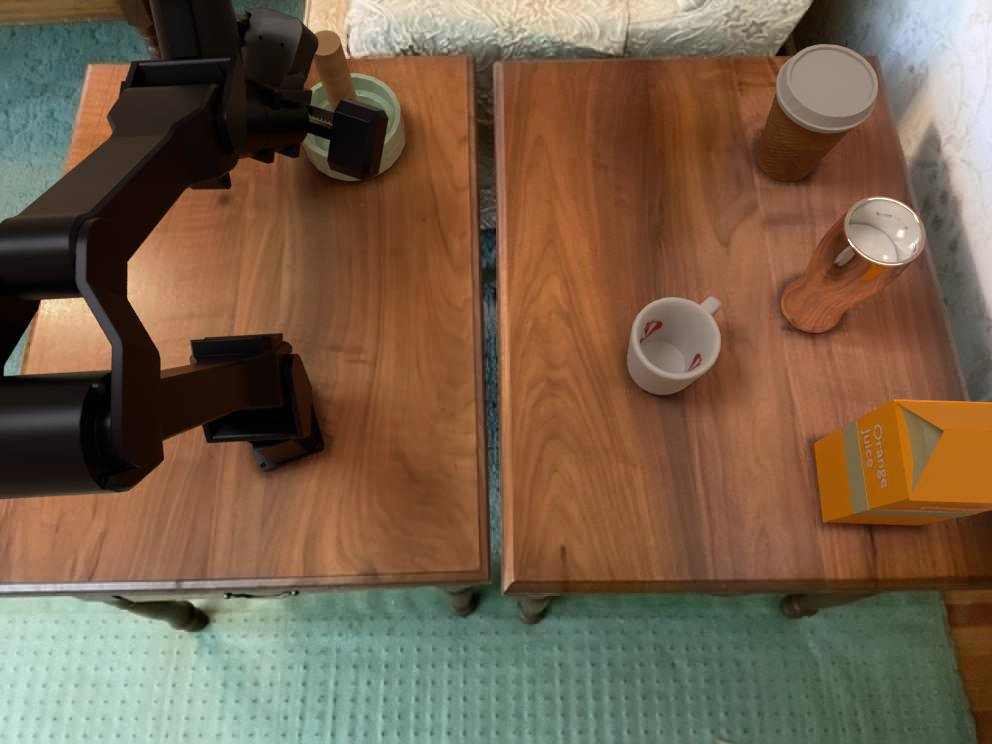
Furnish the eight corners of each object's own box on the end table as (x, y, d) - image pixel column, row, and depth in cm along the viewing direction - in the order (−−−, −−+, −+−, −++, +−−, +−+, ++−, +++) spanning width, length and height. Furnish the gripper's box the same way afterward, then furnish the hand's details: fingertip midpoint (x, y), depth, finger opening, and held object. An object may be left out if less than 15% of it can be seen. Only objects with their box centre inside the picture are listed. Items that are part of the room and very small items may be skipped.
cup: (672, 297, 72) (692, 260, 64) (733, 348, 70) (760, 316, 62) (601, 366, 70) (613, 336, 62) (662, 421, 68) (681, 397, 60)
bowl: (418, 166, 78) (413, 140, 73) (322, 196, 77) (311, 172, 72) (389, 90, 81) (382, 61, 77) (296, 118, 80) (284, 90, 76)
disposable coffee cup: (730, 178, 76) (769, 102, 65) (754, 111, 79) (795, 28, 68) (816, 206, 75) (870, 134, 64) (837, 138, 78) (893, 57, 67)
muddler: (379, 148, 78) (353, 53, 65) (342, 160, 77) (307, 66, 64) (368, 118, 79) (340, 18, 66) (331, 129, 79) (295, 31, 65)
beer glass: (762, 308, 71) (825, 232, 57) (801, 263, 73) (872, 179, 59) (819, 351, 70) (898, 284, 56) (858, 304, 71) (945, 227, 57)
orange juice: (813, 441, 67) (933, 374, 48) (906, 444, 66) (1064, 378, 48) (822, 524, 64) (954, 488, 45) (919, 527, 64) (1092, 492, 45)
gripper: (356, 49, 52) (431, 53, 66) (142, -19, 55) (257, -1, 68) (334, 194, 57) (408, 169, 71) (139, 125, 60) (247, 115, 73)
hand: (330, 111), depth 71 cm, fingers open, 9 cm apart
